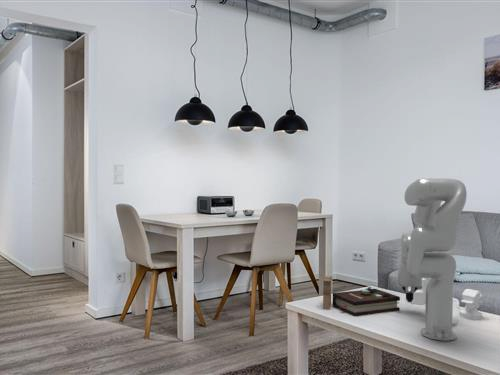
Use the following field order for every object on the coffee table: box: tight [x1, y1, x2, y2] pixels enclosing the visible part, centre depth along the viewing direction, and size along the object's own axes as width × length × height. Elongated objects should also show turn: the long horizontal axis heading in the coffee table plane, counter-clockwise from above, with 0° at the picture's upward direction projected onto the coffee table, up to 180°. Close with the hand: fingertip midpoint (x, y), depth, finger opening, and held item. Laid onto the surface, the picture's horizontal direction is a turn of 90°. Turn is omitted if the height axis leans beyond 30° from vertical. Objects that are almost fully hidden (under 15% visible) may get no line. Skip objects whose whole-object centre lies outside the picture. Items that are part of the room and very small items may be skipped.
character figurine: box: [459, 288, 484, 321], centre depth 193 cm, size 9×10×12 cm
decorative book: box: [331, 286, 401, 317], centre depth 205 cm, size 19×8×30 cm
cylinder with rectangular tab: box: [405, 278, 427, 306], centre depth 218 cm, size 9×9×12 cm
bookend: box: [322, 275, 333, 310], centre depth 208 cm, size 11×3×13 cm, turn 166°
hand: (409, 301), depth 199 cm, fingers closed
